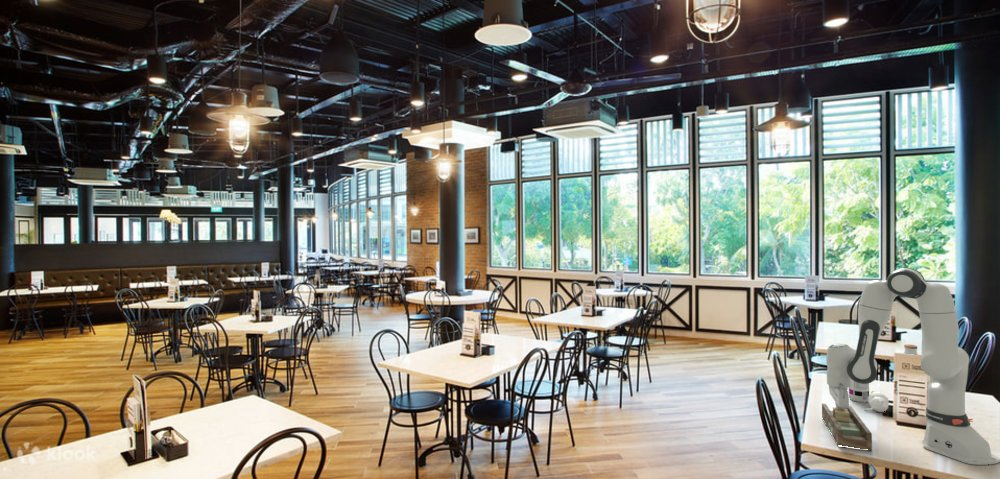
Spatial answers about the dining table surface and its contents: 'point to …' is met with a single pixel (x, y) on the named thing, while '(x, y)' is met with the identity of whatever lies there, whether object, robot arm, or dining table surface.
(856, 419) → the brown long open box
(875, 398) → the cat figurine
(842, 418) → the maple block
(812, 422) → the dining table surface
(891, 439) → the dining table surface
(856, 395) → the supplement can
